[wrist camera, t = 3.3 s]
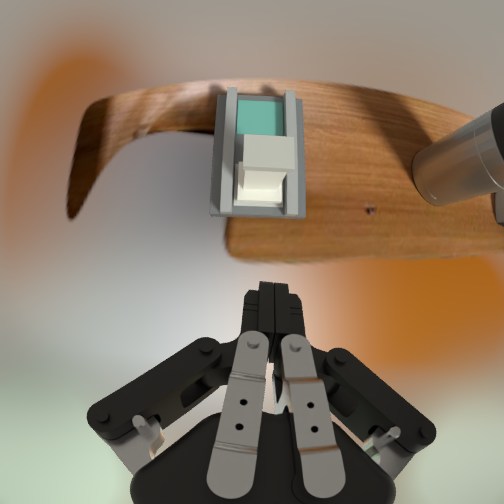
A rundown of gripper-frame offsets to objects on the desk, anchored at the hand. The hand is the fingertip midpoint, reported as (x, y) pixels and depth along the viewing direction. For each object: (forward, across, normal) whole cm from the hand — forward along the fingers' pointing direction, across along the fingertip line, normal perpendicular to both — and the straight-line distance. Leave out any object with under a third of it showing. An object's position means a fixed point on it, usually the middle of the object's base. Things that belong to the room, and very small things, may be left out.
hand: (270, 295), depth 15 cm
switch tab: (+19, +1, 0) cm, 19 cm away
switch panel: (+24, +2, -2) cm, 24 cm away
